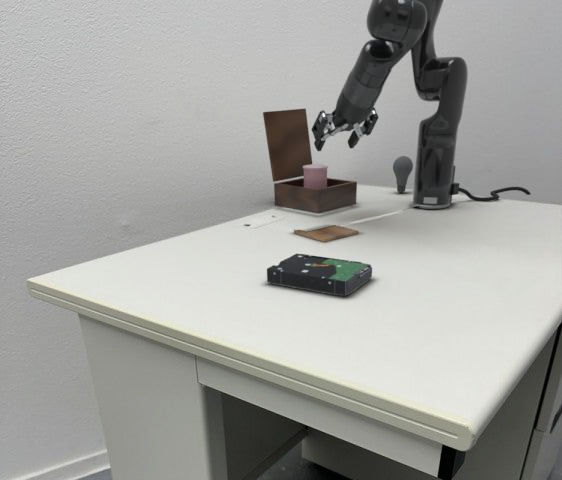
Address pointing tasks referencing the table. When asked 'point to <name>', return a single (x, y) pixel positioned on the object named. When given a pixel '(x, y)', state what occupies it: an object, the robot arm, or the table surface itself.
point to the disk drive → (320, 274)
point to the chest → (315, 195)
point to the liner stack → (315, 176)
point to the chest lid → (287, 143)
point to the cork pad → (327, 233)
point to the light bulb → (402, 171)
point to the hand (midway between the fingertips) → (333, 146)
